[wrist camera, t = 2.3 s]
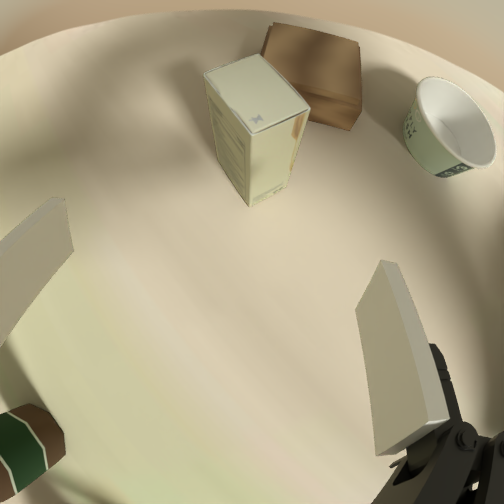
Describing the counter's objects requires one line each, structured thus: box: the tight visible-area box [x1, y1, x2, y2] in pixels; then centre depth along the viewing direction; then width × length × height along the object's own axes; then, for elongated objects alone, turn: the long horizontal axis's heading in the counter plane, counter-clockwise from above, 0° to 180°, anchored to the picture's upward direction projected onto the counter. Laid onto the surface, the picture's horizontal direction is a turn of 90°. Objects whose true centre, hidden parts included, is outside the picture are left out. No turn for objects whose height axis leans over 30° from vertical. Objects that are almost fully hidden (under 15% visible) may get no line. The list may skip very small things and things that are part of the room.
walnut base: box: [261, 22, 362, 131], centre depth 28 cm, size 11×11×5 cm
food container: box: [403, 77, 497, 178], centre depth 26 cm, size 12×12×6 cm
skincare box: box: [203, 54, 310, 207], centre depth 22 cm, size 6×4×12 cm
